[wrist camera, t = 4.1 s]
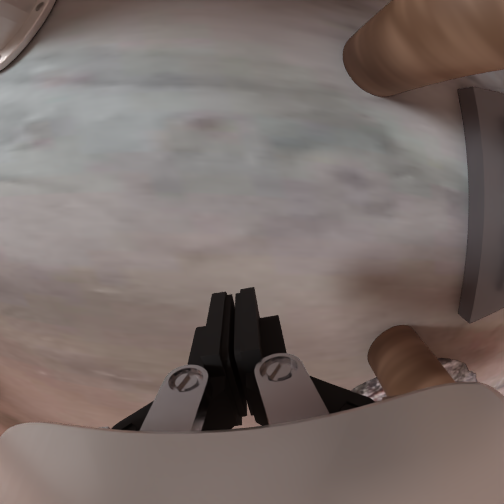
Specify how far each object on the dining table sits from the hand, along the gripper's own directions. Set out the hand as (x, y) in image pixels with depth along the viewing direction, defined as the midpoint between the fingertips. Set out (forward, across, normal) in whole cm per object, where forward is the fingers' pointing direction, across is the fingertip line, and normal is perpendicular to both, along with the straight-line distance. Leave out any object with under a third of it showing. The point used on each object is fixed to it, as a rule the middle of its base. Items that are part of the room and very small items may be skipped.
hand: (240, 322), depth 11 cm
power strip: (+8, -23, 0) cm, 25 cm away
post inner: (+8, -11, -12) cm, 18 cm away
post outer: (+8, -12, +11) cm, 18 cm away
